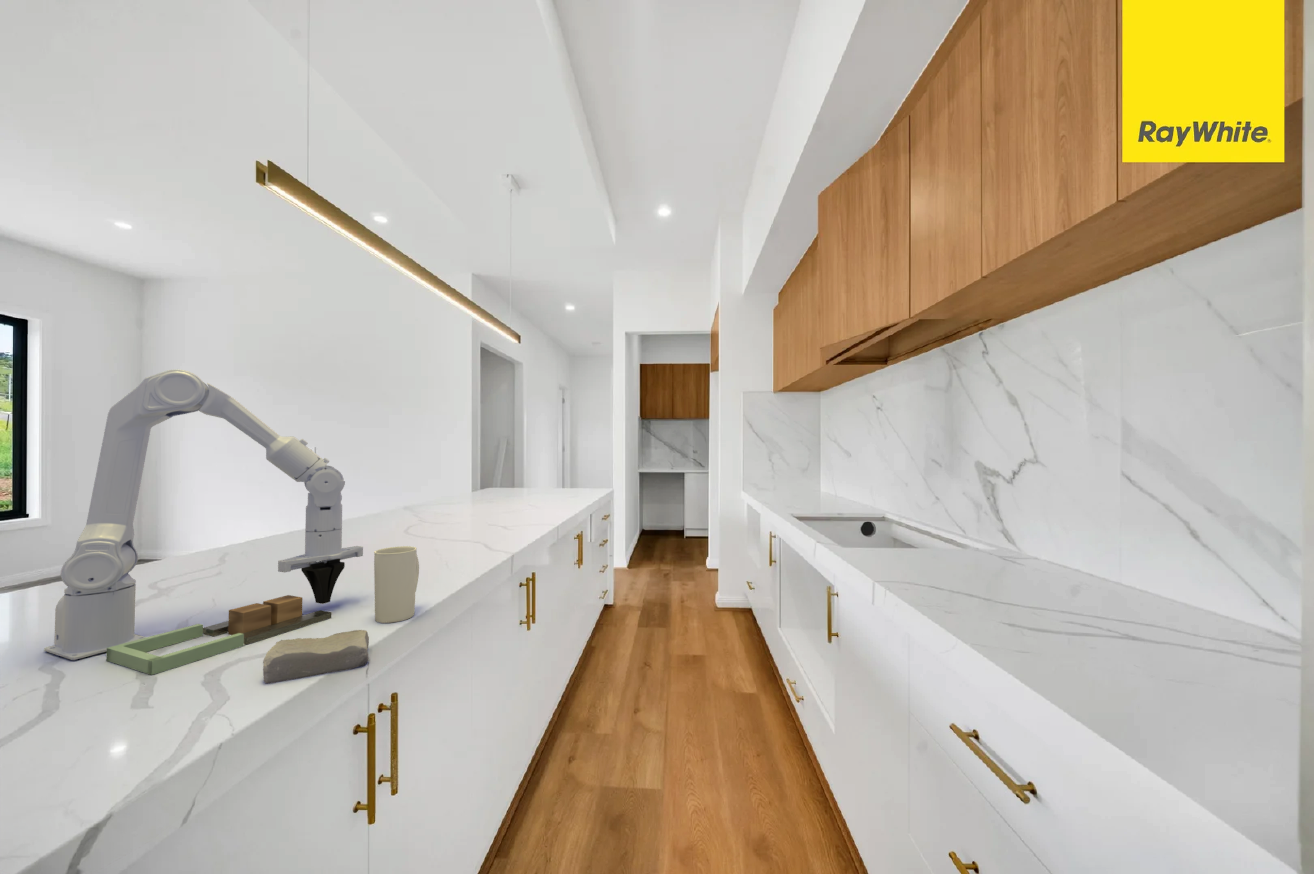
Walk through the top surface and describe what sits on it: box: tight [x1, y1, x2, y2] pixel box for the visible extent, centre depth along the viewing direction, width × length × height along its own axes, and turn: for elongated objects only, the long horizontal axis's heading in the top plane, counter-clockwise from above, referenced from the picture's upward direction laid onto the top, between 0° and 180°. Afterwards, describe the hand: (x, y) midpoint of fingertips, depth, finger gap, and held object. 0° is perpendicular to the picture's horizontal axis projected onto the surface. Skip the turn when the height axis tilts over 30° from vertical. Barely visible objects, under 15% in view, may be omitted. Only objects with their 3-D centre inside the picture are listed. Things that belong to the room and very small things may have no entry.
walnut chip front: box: [227, 602, 271, 636], centre depth 80 cm, size 4×4×4 cm
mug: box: [373, 545, 420, 624], centre depth 89 cm, size 10×7×12 cm, turn 173°
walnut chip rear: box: [262, 594, 303, 625], centre depth 85 cm, size 4×4×4 cm
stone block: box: [262, 629, 370, 685], centre depth 68 cm, size 12×5×10 cm
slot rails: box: [203, 609, 332, 645], centre depth 83 cm, size 12×13×1 cm
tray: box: [105, 623, 245, 676], centre depth 72 cm, size 12×10×2 cm
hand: (322, 602), depth 91 cm, fingers closed
